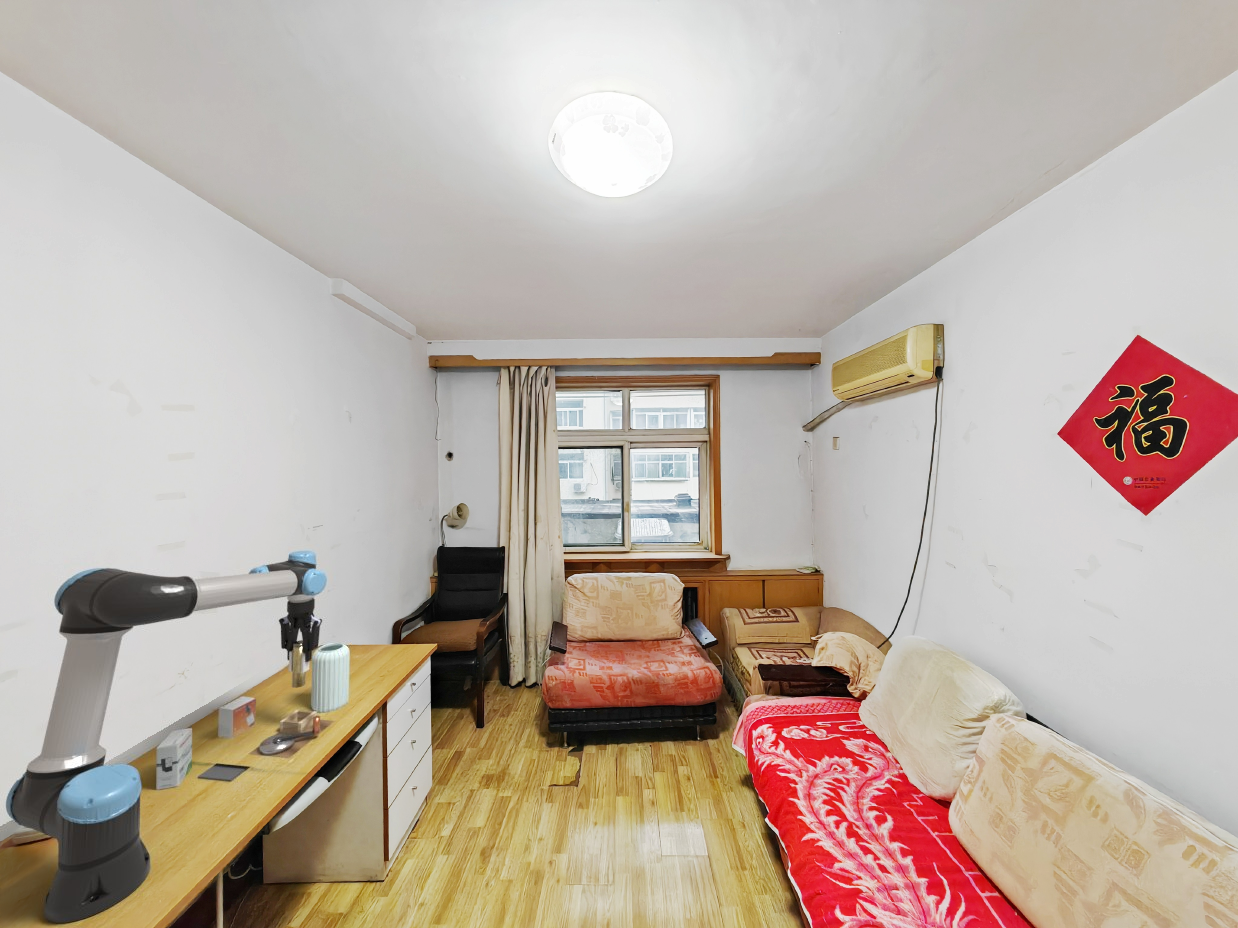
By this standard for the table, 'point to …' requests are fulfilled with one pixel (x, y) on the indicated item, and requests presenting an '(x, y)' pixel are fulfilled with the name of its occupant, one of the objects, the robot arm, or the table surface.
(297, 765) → the table surface
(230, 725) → the small box
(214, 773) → the mat
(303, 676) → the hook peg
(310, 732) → the handwheel
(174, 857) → the table surface
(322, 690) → the vase
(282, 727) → the square socket
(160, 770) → the ink box
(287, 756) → the mount board
